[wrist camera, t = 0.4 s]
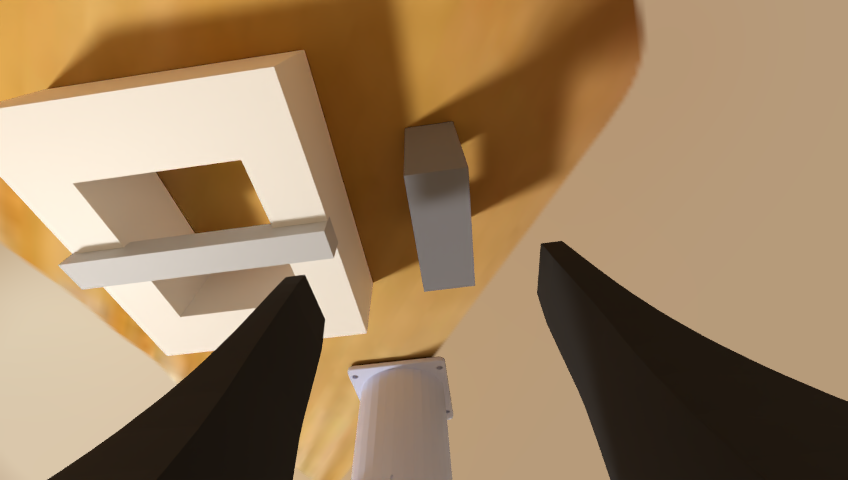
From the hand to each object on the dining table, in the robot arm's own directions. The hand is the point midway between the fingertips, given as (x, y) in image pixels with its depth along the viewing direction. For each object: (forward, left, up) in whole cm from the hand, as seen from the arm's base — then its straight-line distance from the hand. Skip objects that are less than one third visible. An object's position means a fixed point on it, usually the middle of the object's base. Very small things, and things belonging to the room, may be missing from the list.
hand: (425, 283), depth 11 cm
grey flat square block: (-1, -1, -9) cm, 9 cm away
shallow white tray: (-1, +10, -9) cm, 14 cm away
